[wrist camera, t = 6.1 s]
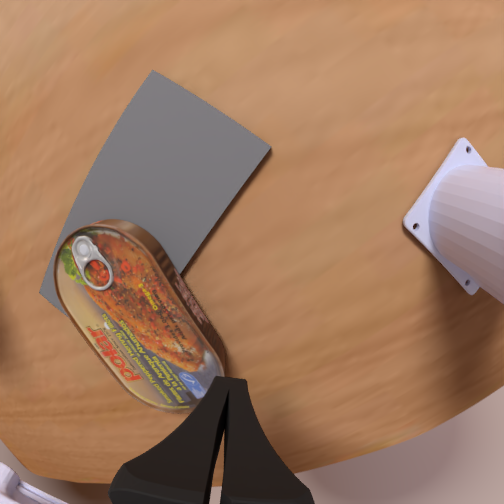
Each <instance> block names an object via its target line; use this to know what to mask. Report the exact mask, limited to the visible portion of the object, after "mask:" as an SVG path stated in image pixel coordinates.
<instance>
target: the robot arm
mask: <svg viewBox="0 0 504 504" xmlns="http://www.w3.org/2000/svg"><path fill="white" fill-rule="evenodd" d="M466 148H468V153H467V152H466ZM415 223H416V224H417V227H416V229H413V225H414V224H415ZM403 225H404V226H405V228H406V229H408V230H409V231H410V232H411V233H412V234H413V235H414V236H415V237H416V238H417V239H418V240H419V241H420V242H421V243H422V244H423V245H424V246H425V247H426V248H427V249H428V250H429V251H430V252H431V254H432V255H433V256H434V257H435V258H436V259H437V260H438V261H439V262H440V263H441V264H442V265H443V266H444V267H445V268H446V269H447V270H448V272H449V273H450V274H451V275H452V276H453V277H454V278H455V279H456V280H457V281H458V283H459V284H460V285H461V286H462V287H463V288H464V289H465V290H466V292H467V293H469V294H470V295H473V294H475V293H476V291H477V290H478V289H479V287H481V288H482V289H484V290H485V291H486V292H488V293H489V294H490V295H492V296H493V297H494V298H496V299H497V300H498V301H500V302H501V303H502V304H504V169H500V168H493V167H488V166H487V165H486V163H485V162H484V161H483V159H482V158H481V157H480V155H479V154H478V153H477V151H476V150H475V149H474V148H473V146H472V145H471V144H470V143H469V141H468V140H467V139H466V138H459V139H458V140H457V142H456V143H455V145H454V147H453V148H452V150H451V151H450V153H449V154H448V156H447V157H446V159H445V160H444V162H443V163H442V165H441V166H440V168H439V169H438V171H437V172H436V174H435V175H434V176H433V178H432V179H431V181H430V182H429V184H428V185H427V187H426V188H425V189H424V191H423V192H422V194H421V195H420V196H419V198H418V199H417V201H416V202H415V203H414V205H413V206H412V207H411V209H410V210H409V211H408V213H407V214H406V215H405V217H404V219H403ZM467 280H468V281H467ZM466 281H467V283H466V284H465V282H466ZM224 429H225V430H224ZM223 433H224V473H223V483H222V491H221V499H220V504H315V503H314V500H313V497H312V495H311V492H310V490H309V488H307V487H306V486H305V485H304V484H303V483H302V482H301V481H300V480H299V479H298V478H297V477H296V476H295V475H294V474H293V473H292V472H291V471H290V470H289V469H288V467H287V466H286V465H285V464H284V462H283V461H282V460H281V459H280V457H279V456H278V455H277V453H276V452H275V450H274V449H273V447H272V446H271V444H270V443H269V441H268V439H267V437H266V436H265V434H264V432H263V430H262V428H261V426H260V424H259V421H258V419H257V417H256V414H255V411H254V409H253V406H252V403H251V400H250V396H249V392H248V386H247V381H246V380H245V379H238V378H230V377H223V376H215V377H214V379H213V381H212V383H211V385H210V387H209V389H208V390H207V392H206V394H205V395H204V397H203V398H202V400H201V401H200V402H199V404H198V405H197V406H196V408H195V409H194V410H193V411H192V412H191V414H190V415H189V416H188V417H187V418H186V419H185V421H184V422H183V423H182V424H181V425H180V426H179V427H178V428H177V429H175V430H174V431H173V432H172V433H171V434H170V435H169V436H167V437H166V438H165V439H164V440H162V441H161V442H160V443H158V444H157V445H156V446H154V447H152V448H151V449H149V450H148V451H146V452H145V453H143V454H141V455H140V456H138V457H136V458H134V459H132V460H130V461H128V462H126V463H124V464H123V465H122V466H121V468H120V469H119V470H118V472H117V474H116V475H115V477H114V479H113V481H112V483H111V486H110V488H109V491H108V495H109V498H110V499H111V501H112V503H113V504H209V501H210V494H211V487H212V480H213V473H214V468H215V464H216V460H217V456H218V452H219V449H220V445H221V441H222V437H223ZM0 504H68V503H66V502H64V501H62V500H59V499H57V498H55V497H53V496H51V495H49V494H47V493H45V492H43V491H41V490H39V489H37V488H35V487H33V486H31V485H30V484H28V483H26V482H24V481H22V480H21V479H20V478H19V476H18V475H17V473H16V472H15V471H14V470H13V469H11V468H10V467H9V466H7V465H5V464H4V463H2V462H0Z"/></svg>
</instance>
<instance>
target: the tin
mask: <svg viewBox="0 0 504 504" xmlns="http://www.w3.org/2000/svg"><path fill="white" fill-rule="evenodd" d="M53 280H54V287H55V291H56V294H57V297H58V300H59V302H60V304H61V306H62V308H63V310H64V311H65V313H66V314H67V316H68V317H69V319H70V320H71V322H72V323H73V325H74V326H75V327H76V329H77V330H78V332H79V333H80V334H81V336H82V337H83V338H84V340H85V341H86V343H87V344H88V345H89V347H90V348H91V349H92V350H93V352H94V353H95V355H96V356H97V357H98V358H99V360H100V361H101V362H102V364H103V365H104V366H105V367H106V369H107V370H108V371H109V372H110V374H111V375H112V376H113V377H114V378H115V380H116V381H117V382H118V383H119V385H120V386H121V387H122V388H123V389H124V390H125V391H126V392H127V393H128V394H129V395H130V396H132V397H133V398H134V399H136V400H137V401H139V402H141V403H142V404H144V405H146V406H148V407H150V408H153V409H156V410H159V411H163V412H168V413H178V414H182V413H191V412H192V411H193V410H194V409H195V408H196V406H197V405H198V404H199V402H200V401H201V400H202V398H203V397H204V395H205V394H206V392H207V390H208V389H209V387H210V385H211V383H212V381H213V379H214V377H215V376H223V377H225V374H224V370H225V351H224V347H223V344H222V342H221V340H220V338H219V337H218V335H217V333H216V332H215V330H214V329H213V327H212V326H211V324H210V323H209V321H208V320H207V318H206V317H205V315H204V314H203V312H202V310H201V309H200V307H199V306H198V304H197V303H196V301H195V299H194V298H193V296H192V295H191V293H190V291H189V290H188V288H187V287H186V285H185V283H184V282H183V280H182V278H181V277H180V275H179V274H178V272H177V270H176V268H175V267H174V265H173V263H172V262H171V260H170V258H169V257H168V255H167V253H166V252H165V250H164V249H163V247H162V246H161V244H160V243H159V242H158V241H157V240H156V239H155V237H154V236H152V235H151V234H150V233H149V232H148V231H146V230H145V229H143V228H142V227H140V226H138V225H136V224H134V223H131V222H128V221H124V220H119V219H107V220H102V221H98V222H95V223H92V224H90V225H86V226H83V227H80V228H78V229H76V230H74V231H73V232H71V233H70V234H69V235H68V236H67V237H66V238H65V239H64V240H63V242H62V243H61V244H60V246H59V248H58V250H57V252H56V255H55V259H54V265H53Z"/></svg>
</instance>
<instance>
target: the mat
mask: <svg viewBox="0 0 504 504" xmlns="http://www.w3.org/2000/svg"><path fill="white" fill-rule="evenodd" d="M270 148H271V146H270V145H268V144H267V143H266V142H264V141H263V140H261V139H260V138H258V137H257V136H256V135H254V134H253V133H251V132H250V131H249V130H247V129H246V128H244V127H243V126H241V125H240V124H238V123H237V122H235V121H234V120H232V119H231V118H229V117H228V116H226V115H225V114H223V113H222V112H220V111H219V110H217V109H216V108H214V107H213V106H211V105H210V104H208V103H207V102H205V101H203V100H202V99H200V98H199V97H197V96H196V95H194V94H192V93H191V92H189V91H188V90H186V89H184V88H183V87H181V86H179V85H178V84H176V83H174V82H173V81H171V80H169V79H168V78H166V77H164V76H163V75H161V74H159V73H157V72H156V71H154V70H152V71H151V73H150V74H149V75H148V77H147V78H146V80H145V81H144V82H143V84H142V85H141V87H140V88H139V90H138V91H137V93H136V94H135V96H134V97H133V98H132V100H131V102H130V103H129V105H128V106H127V108H126V109H125V111H124V112H123V114H122V116H121V117H120V119H119V120H118V122H117V124H116V125H115V127H114V129H113V130H112V132H111V134H110V135H109V137H108V139H107V140H106V142H105V144H104V146H103V148H102V149H101V151H100V153H99V155H98V157H97V158H96V160H95V162H94V164H93V166H92V168H91V170H90V172H89V174H88V175H87V177H86V179H85V181H84V183H83V185H82V187H81V190H80V192H79V194H78V196H77V198H76V200H75V202H74V204H73V206H72V209H71V211H70V213H69V215H68V218H67V220H66V222H65V225H64V227H63V229H62V232H61V234H60V237H59V239H58V242H57V244H56V247H55V249H54V252H53V254H52V257H51V260H50V263H49V265H48V268H47V271H46V274H45V277H44V280H43V283H42V286H41V289H40V292H39V293H40V294H41V295H42V296H43V297H44V298H46V299H47V300H48V301H49V302H50V303H51V304H53V305H54V306H55V307H56V308H57V309H59V310H60V311H61V312H62V313H63V314H65V315H66V316H67V314H66V313H65V311H64V310H63V308H62V306H61V304H60V302H59V300H58V297H57V294H56V291H55V287H54V280H53V265H54V259H55V255H56V252H57V250H58V248H59V246H60V244H61V243H62V242H63V240H64V239H65V238H66V237H67V236H68V235H69V234H70V233H71V232H73V231H74V230H76V229H78V228H80V227H83V226H86V225H90V224H92V223H95V222H98V221H102V220H107V219H119V220H124V221H128V222H131V223H134V224H136V225H138V226H140V227H142V228H143V229H145V230H146V231H148V232H149V233H150V234H151V235H152V236H154V237H155V239H156V240H157V241H158V242H159V243H160V244H161V246H162V247H163V249H164V250H165V252H166V253H167V255H168V257H169V258H170V260H171V262H172V263H173V265H174V267H175V268H176V270H177V272H178V274H179V275H180V273H181V272H182V271H183V269H184V268H185V266H186V265H187V263H188V262H189V260H190V259H191V257H192V256H193V254H194V253H195V252H196V250H197V249H198V247H199V246H200V244H201V243H202V241H203V240H204V239H205V237H206V236H207V234H208V233H209V231H210V230H211V229H212V227H213V226H214V224H215V223H216V222H217V220H218V219H219V217H220V216H221V215H222V213H223V212H224V210H225V209H226V208H227V206H228V205H229V203H230V202H231V201H232V199H233V198H234V196H235V195H236V194H237V192H238V191H239V190H240V188H241V187H242V186H243V184H244V183H245V181H246V180H247V179H248V177H249V176H250V175H251V173H252V172H253V171H254V169H255V168H256V167H257V165H258V164H259V163H260V161H261V160H262V159H263V157H264V156H265V155H266V153H267V152H268V151H269V149H270ZM67 317H68V316H67ZM68 318H69V317H68Z"/></svg>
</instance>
